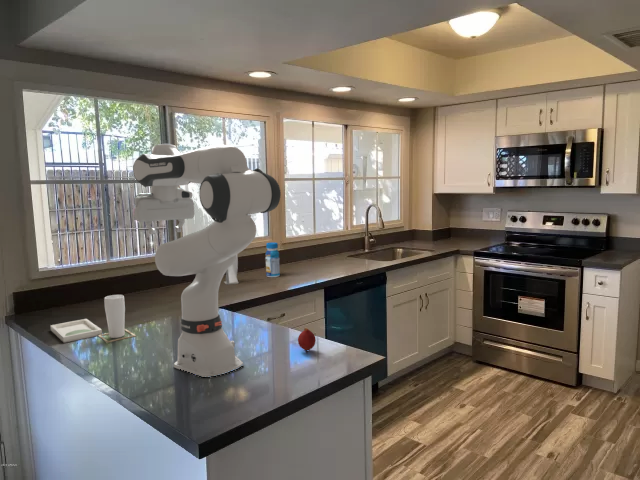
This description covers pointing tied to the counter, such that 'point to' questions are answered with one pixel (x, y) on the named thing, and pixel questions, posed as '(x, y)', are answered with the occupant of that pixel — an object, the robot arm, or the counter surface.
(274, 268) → the beverage bottle
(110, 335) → the drinking glass
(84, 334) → the tray
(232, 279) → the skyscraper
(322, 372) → the counter surface
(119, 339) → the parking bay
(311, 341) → the onion
